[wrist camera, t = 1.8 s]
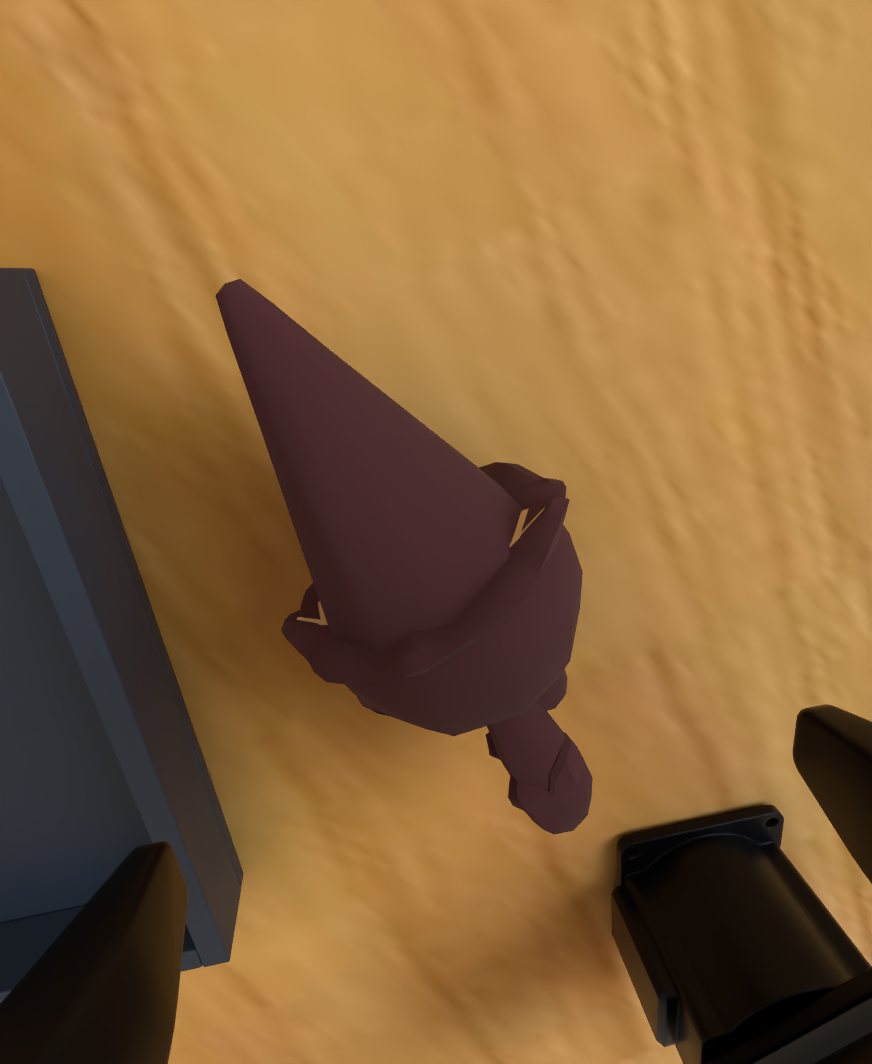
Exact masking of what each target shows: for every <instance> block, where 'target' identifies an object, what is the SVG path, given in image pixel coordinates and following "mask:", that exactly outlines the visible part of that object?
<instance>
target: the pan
mask: <svg viewBox="0 0 872 1064" xmlns="http://www.w3.org/2000/svg"><path fill="white" fill-rule="evenodd" d="M161 841H166V842H168V843H169V844H170V845H171V847H172V848H173V851H174V853H175V856H176V858H177V861H178V863H179V866H180V868H181V871H182V873H183V876H184V878H185V881H186V884H187V891H188V904H187V913H186V923H185V933H184V942H183V952H182V962H181V971H186V970H190V969H195V968H199V967H202V965H203V966H204V967H207V966H211V965H216V964H220V963H225V962H229V961H230V956H231V949H232V943H233V937H234V930H235V924H236V917H237V911H238V905H239V898H240V892H241V885H242V879H243V871H242V868H241V865H240V862H239V859H238V856H237V854H236V851H235V848H234V845H233V842H232V839H231V836H230V833H229V830H228V828H227V825H226V822H225V819H224V816H223V813H222V810H221V807H220V804H219V802H218V799H217V796H216V793H215V790H214V787H213V784H212V781H211V778H210V776H209V773H208V770H207V767H206V764H205V761H204V758H203V755H202V752H201V750H200V747H199V744H198V741H197V738H196V735H195V732H194V729H193V726H192V724H191V721H190V718H189V715H188V712H187V709H186V706H185V703H184V700H183V698H182V695H181V692H180V689H179V686H178V683H177V680H176V677H175V674H174V672H173V669H172V666H171V663H170V660H169V657H168V654H167V651H166V648H165V646H164V643H163V640H162V637H161V634H160V631H159V628H158V625H157V622H156V620H155V617H154V614H153V611H152V608H151V605H150V602H149V599H148V596H147V594H146V591H145V588H144V585H143V582H142V579H141V576H140V573H139V570H138V568H137V565H136V562H135V559H134V556H133V553H132V550H131V547H130V544H129V542H128V539H127V536H126V533H125V530H124V527H123V524H122V521H121V518H120V515H119V513H118V510H117V507H116V504H115V501H114V498H113V495H112V492H111V489H110V487H109V484H108V481H107V478H106V475H105V472H104V469H103V466H102V463H101V461H100V458H99V455H98V452H97V449H96V446H95V443H94V440H93V437H92V435H91V432H90V429H89V426H88V423H87V420H86V417H85V414H84V411H83V409H82V406H81V403H80V400H79V397H78V394H77V391H76V388H75V385H74V383H73V380H72V377H71V374H70V371H69V368H68V365H67V362H66V359H65V357H64V354H63V351H62V348H61V345H60V342H59V339H58V336H57V333H56V331H55V328H54V325H53V322H52V319H51V316H50V313H49V310H48V307H47V305H46V302H45V299H44V296H43V293H42V290H41V287H40V284H39V281H38V279H37V276H36V273H35V270H34V269H31V268H0V1003H1V1002H2V1001H3V1000H4V999H5V997H6V996H7V995H8V994H9V993H10V992H11V990H12V989H13V988H14V987H15V986H16V985H17V983H18V982H19V981H20V980H21V979H22V978H23V976H24V975H25V974H26V973H27V972H28V971H29V970H30V968H31V967H32V966H33V965H34V964H35V963H36V961H37V960H38V959H39V958H40V957H41V956H42V954H43V953H44V952H45V951H46V950H47V949H48V947H49V946H50V945H51V944H52V943H53V942H54V940H55V939H56V938H57V937H58V936H59V935H60V933H61V932H62V931H63V930H64V929H65V928H66V927H67V925H68V924H69V923H70V922H71V921H72V920H73V918H74V917H75V916H76V915H77V914H78V913H79V911H80V910H81V909H82V908H83V907H84V906H85V904H86V903H87V902H88V901H89V900H90V899H91V897H92V896H93V895H94V894H95V893H96V892H97V890H98V889H99V888H100V887H101V886H102V885H103V884H104V882H105V881H106V880H107V879H108V878H109V877H110V875H111V874H112V873H113V872H114V871H115V870H116V868H117V867H118V866H119V865H120V864H121V863H122V861H123V860H124V859H125V858H126V857H127V856H128V854H129V853H130V852H131V851H132V850H133V849H135V848H136V847H138V846H142V845H146V844H151V843H156V842H161Z"/></svg>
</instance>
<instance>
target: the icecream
mask: <svg viewBox="0 0 872 1064" xmlns="http://www.w3.org/2000/svg"><path fill="white" fill-rule="evenodd" d="M216 298H217V302H218V305H219V308H220V312H221V315H222V318H223V322H224V325H225V328H226V331H227V334H228V337H229V340H230V343H231V346H232V349H233V351H234V354H235V357H236V360H237V363H238V366H239V369H240V371H241V374H242V377H243V380H244V383H245V386H246V389H247V391H248V394H249V397H250V400H251V403H252V406H253V408H254V411H255V414H256V417H257V420H258V423H259V426H260V429H261V432H262V435H263V437H264V440H265V443H266V446H267V449H268V452H269V455H270V458H271V461H272V464H273V467H274V469H275V472H276V475H277V478H278V481H279V484H280V487H281V490H282V493H283V496H284V499H285V501H286V504H287V507H288V510H289V513H290V516H291V519H292V522H293V525H294V528H295V531H296V533H297V536H298V539H299V542H300V545H301V548H302V551H303V554H304V557H305V560H306V563H307V565H308V568H309V571H310V574H311V577H312V580H313V584H312V585H311V586H310V587H309V588H308V589H307V590H306V592H305V595H304V597H303V600H302V604H301V610H299V611H296V612H294V613H292V614H290V615H289V616H288V617H287V618H286V619H285V621H284V624H283V627H282V632H283V634H284V636H285V637H286V639H287V640H288V641H289V642H290V643H291V644H292V645H293V646H294V647H295V648H296V649H297V650H298V651H299V652H300V653H301V654H302V655H303V656H304V657H305V658H306V659H307V660H308V662H309V664H310V665H311V667H312V669H313V671H314V672H315V673H316V674H317V675H319V676H320V677H321V678H322V679H323V680H325V681H326V682H331V683H339V684H345V685H346V686H347V687H348V688H349V689H350V690H351V691H352V692H353V693H354V694H355V695H356V696H357V697H358V699H359V701H360V702H361V704H362V705H363V706H364V707H366V708H368V709H370V710H372V711H374V712H376V713H379V714H383V715H388V716H391V717H394V718H397V719H400V720H402V721H405V722H408V723H411V724H414V725H416V726H419V727H422V728H425V729H428V730H432V731H436V732H440V733H444V734H448V735H452V736H456V735H459V734H462V733H465V732H469V731H472V730H475V729H478V728H481V727H484V726H487V727H488V730H489V733H487V734H486V739H487V743H488V747H489V754H490V755H491V756H493V757H495V758H497V759H500V760H501V762H502V763H503V765H504V766H505V768H506V770H507V771H508V773H509V774H510V782H509V794H508V798H509V799H510V801H511V803H512V805H513V806H515V807H517V808H519V809H522V810H524V811H525V812H526V813H527V814H528V816H529V817H530V818H531V819H532V820H533V821H534V822H535V823H536V824H537V825H539V826H540V827H541V828H542V829H544V830H546V831H548V832H550V833H552V834H559V833H563V832H568V831H573V830H574V829H575V828H576V827H577V826H578V825H579V824H580V823H581V822H582V821H583V820H584V819H585V817H586V816H587V815H588V810H589V806H590V801H591V793H592V776H591V774H590V772H589V770H588V768H587V766H586V764H585V761H584V759H583V757H582V755H581V753H580V751H579V750H578V748H577V746H576V745H575V744H574V742H573V741H572V740H571V739H570V738H569V736H568V735H567V734H566V733H564V732H563V731H562V730H561V729H560V728H559V726H558V725H557V724H556V722H555V721H554V720H553V719H552V717H551V716H550V715H549V713H548V712H547V710H551V709H554V708H556V706H557V705H558V704H559V702H560V701H561V700H562V699H563V697H564V695H565V694H566V687H567V675H566V672H565V667H566V666H567V664H568V663H569V661H570V657H571V652H572V647H573V641H574V636H575V631H576V625H577V620H578V614H579V609H580V598H581V585H582V569H581V566H580V563H579V560H578V557H577V554H576V552H575V549H574V546H573V543H572V540H571V537H570V534H569V532H568V531H567V529H566V528H565V526H564V525H563V522H564V518H565V514H566V511H567V507H568V503H569V499H567V498H565V495H566V486H565V484H564V483H563V481H560V480H555V479H547V478H542V477H541V476H539V475H537V474H535V473H533V472H531V471H529V470H528V469H526V468H524V467H522V466H520V465H518V464H510V463H499V462H495V463H492V464H489V465H486V466H483V467H480V468H478V467H477V466H476V465H474V464H473V463H472V462H470V461H469V460H468V459H467V458H465V457H464V456H463V455H462V454H460V453H459V452H458V451H457V450H455V449H454V448H453V447H452V446H450V445H449V444H448V443H446V442H445V441H444V440H443V439H441V438H440V437H439V436H438V435H436V434H435V433H434V432H433V431H431V430H430V429H429V428H428V427H426V426H425V425H424V424H422V423H421V422H420V421H419V420H417V419H416V418H415V417H414V416H412V415H411V414H410V413H409V412H407V411H406V410H405V409H404V408H402V407H401V406H400V405H398V404H397V403H396V402H395V401H393V400H392V399H391V398H390V397H388V396H387V395H386V394H385V393H383V392H382V391H381V390H380V389H378V388H377V387H376V386H374V385H373V384H372V383H371V382H369V381H368V380H367V379H366V378H364V377H363V376H362V375H361V374H359V373H358V372H357V371H356V370H354V369H353V368H352V367H350V366H349V365H348V364H347V363H345V362H344V361H343V360H342V359H340V358H339V357H338V356H337V355H335V354H334V353H333V352H332V351H330V350H329V349H328V348H327V347H326V346H324V345H323V344H322V343H321V342H319V341H318V340H317V339H316V338H314V337H313V336H312V335H311V334H310V333H308V332H307V331H306V330H305V329H303V328H302V327H301V326H300V325H299V324H297V323H296V322H295V321H294V320H292V319H291V318H290V317H289V316H288V315H286V314H285V313H284V312H283V311H281V310H280V309H279V308H278V307H277V306H275V305H274V304H273V303H272V302H270V301H269V300H268V299H266V298H265V297H264V296H262V295H261V294H260V293H258V292H257V291H256V290H254V289H253V288H252V287H250V286H249V285H248V284H246V283H245V282H244V281H242V280H241V279H238V280H235V281H232V282H229V283H226V284H224V285H223V287H222V288H221V289H220V291H219V292H218V293H217V294H216Z"/></svg>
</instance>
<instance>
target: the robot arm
mask: <svg viewBox="0 0 872 1064" xmlns="http://www.w3.org/2000/svg"><path fill="white" fill-rule="evenodd" d="M793 759H794V763H795V765H796V768H797V769H798V771H799V773H800V775H801V776H802V778H803V779H804V781H805V782H806V784H807V786H808V787H809V789H810V790H811V792H812V794H813V795H814V797H815V798H816V800H817V801H818V803H819V805H820V806H821V808H822V809H823V811H824V812H825V814H826V816H827V817H828V819H829V820H830V822H831V824H832V825H833V827H834V828H835V830H836V831H837V833H838V835H839V836H840V838H841V839H842V841H843V842H844V844H845V846H846V847H847V849H848V850H849V852H850V853H851V855H852V856H853V858H854V859H855V861H856V862H857V864H858V865H859V867H860V868H861V870H862V871H863V873H864V874H865V875H866V877H867V878H868V879H869V881H870V882H871V883H872V722H871V721H869V720H866V719H864V718H861V717H859V716H856V715H854V714H852V713H849V712H847V711H844V710H842V709H840V708H837V707H835V706H832V705H820V706H815V707H810V708H805V709H803V710H801V711H800V712H799V714H798V716H797V721H796V729H795V737H794V745H793ZM783 822H784V818H783V816H782V815H781V813H780V812H779V811H778V810H777V809H776V807H775V806H773V805H764V806H760V807H755V808H751V809H746V810H741V811H737V812H732V813H728V814H723V815H718V816H714V817H709V818H705V819H700V820H695V821H691V822H686V823H682V824H677V825H672V826H668V827H663V828H659V829H654V830H650V831H645V832H640V833H636V834H631V835H628V836H625V837H623V838H622V839H620V841H619V842H618V843H617V886H615V887H614V889H613V891H612V894H611V900H612V935H613V937H614V940H615V942H616V945H617V947H618V949H619V952H620V954H621V957H622V959H623V961H624V964H625V966H626V969H627V971H628V973H629V976H630V978H631V981H632V983H633V986H634V988H635V990H636V993H637V995H638V998H639V1000H640V1002H641V1005H642V1007H643V1010H644V1012H645V1014H646V1017H647V1019H648V1022H649V1024H650V1026H651V1029H652V1031H653V1034H654V1036H655V1038H656V1040H657V1041H658V1042H659V1043H660V1044H662V1045H663V1046H664V1047H666V1046H670V1045H674V1044H675V1046H676V1048H677V1050H678V1052H679V1055H680V1057H681V1059H682V1062H683V1064H872V967H871V965H870V964H869V963H868V962H867V960H866V959H865V958H864V956H863V955H862V954H861V952H860V951H859V950H858V949H857V947H856V946H855V945H854V943H853V942H852V941H851V939H850V938H849V937H848V936H847V934H846V933H845V932H844V930H843V929H842V928H841V926H840V925H839V924H838V923H837V921H836V920H835V919H834V917H833V916H832V915H831V913H830V912H829V911H828V910H827V908H826V907H825V906H824V904H823V903H822V902H821V900H820V899H819V898H818V897H817V895H816V894H815V893H814V891H813V890H812V889H811V888H810V886H809V885H808V884H807V882H806V881H805V880H804V878H803V877H802V876H801V875H800V873H799V872H798V871H797V869H796V868H795V867H794V865H793V864H792V863H791V862H790V860H789V859H788V858H787V856H786V855H785V854H784V852H783V851H782V850H781V849H780V845H781V838H782V830H783ZM187 904H188V891H187V884H186V881H185V878H184V876H183V873H182V871H181V868H180V866H179V863H178V861H177V858H176V856H175V853H174V851H173V848H172V847H171V845H170V844H169V843H168V842H166V841H161V842H156V843H151V844H146V845H142V846H138V847H136V848H135V849H133V850H132V851H131V852H130V853H129V854H128V856H127V857H126V858H125V859H124V860H123V861H122V863H121V864H120V865H119V866H118V867H117V868H116V870H115V871H114V872H113V873H112V874H111V875H110V877H109V878H108V879H107V880H106V881H105V882H104V884H103V885H102V886H101V887H100V888H99V889H98V890H97V892H96V893H95V894H94V895H93V896H92V897H91V899H90V900H89V901H88V902H87V903H86V904H85V906H84V907H83V908H82V909H81V910H80V911H79V913H78V914H77V915H76V916H75V917H74V918H73V920H72V921H71V922H70V923H69V924H68V925H67V927H66V928H65V929H64V930H63V931H62V932H61V933H60V935H59V936H58V937H57V938H56V939H55V940H54V942H53V943H52V944H51V945H50V946H49V947H48V949H47V950H46V951H45V952H44V953H43V954H42V956H41V957H40V958H39V959H38V960H37V961H36V963H35V964H34V965H33V966H32V967H31V968H30V970H29V971H28V972H27V973H26V974H25V975H24V976H23V978H22V979H21V980H20V981H19V982H18V983H17V985H16V986H15V987H14V988H13V989H12V990H11V992H10V993H9V994H8V995H7V996H6V997H5V999H4V1000H3V1001H2V1002H1V1003H0V1064H168V1059H169V1054H170V1049H171V1043H172V1038H173V1032H174V1026H175V1018H176V1010H177V1001H178V991H179V981H180V972H181V962H182V952H183V942H184V933H185V923H186V913H187Z"/></svg>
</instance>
